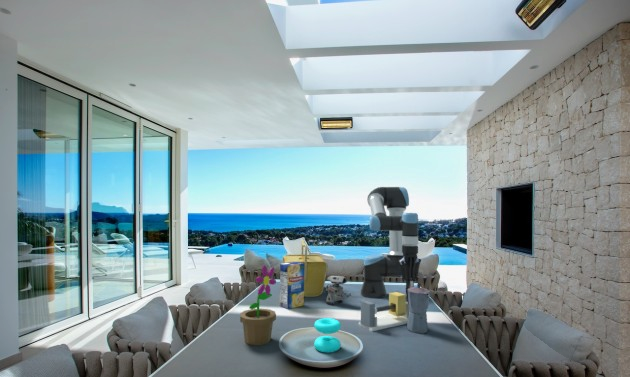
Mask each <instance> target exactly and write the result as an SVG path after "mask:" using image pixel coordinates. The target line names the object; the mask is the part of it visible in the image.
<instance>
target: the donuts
mask: <svg viewBox="0 0 630 377" xmlns="http://www.w3.org/2000/svg"><path fill="white" fill-rule="evenodd" d="M341 324H342V323H341V322H340V321H339V320H337V319H335V318H331V317H329V318H328V317H326V318H324V317H323V318H320V319H317V320H315V322H314V328H315V330H316V331H317V332H318V333H322V334H327V335H322V336H318V337H317V338H316V339H315V340H314V343H313V345H314V348H315V349H316V350H317V351H319V352H321V353H335V352H337V351H339V350H340V348H341V344H342V343H341V342H340V340H339V339H338V338H337V337H335V336H331V335H330V334H336V333H337V332H339V331H340V330H341V327H342V326H341Z"/></svg>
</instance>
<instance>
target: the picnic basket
mask: <svg viewBox="0 0 630 377" xmlns="http://www.w3.org/2000/svg"><path fill="white" fill-rule="evenodd" d="M300 246H301V247H300V248H301V249H300V250H301V254H284V255H283V257H282V259H281V261H282V264H283V263H291V262H300V263H304V298H306V297H307V298H308V297H310V298H311V297H313V298H314V297H319V296H321V295H322V294H323V292H324V289H325V283H326V279H327V274H328V268H329V267H328V266H329V265H328V263H327V262H326V260H324V258H323V256H322V255H320V254H316V253H315V254H314V253H313V254H308V245H307V244H306V242H305V241H304V239H302V240H301V245H300Z"/></svg>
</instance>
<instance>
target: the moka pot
mask: <svg viewBox="0 0 630 377" xmlns="http://www.w3.org/2000/svg"><path fill="white" fill-rule="evenodd" d="M421 285H422V284H421V283H417V284H416V286H417V287H416V286H414V287H413V286H410V285H409V284H408V286H407V287H406V286H405V295H406V302H408V305H409V307H410V311H409V318H408V323H407V324H406V325H407V326H406V328H407V330H408V331H410V332H411V333H416V334H425V333H427V332H428V331H429V325H428V315H427V311H428V309H429V303H430V296H431V290H429V289H428V288H425V287H421ZM408 288H409V289H408Z"/></svg>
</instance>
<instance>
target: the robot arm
mask: <svg viewBox="0 0 630 377" xmlns="http://www.w3.org/2000/svg"><path fill="white" fill-rule="evenodd" d="M367 204H368V206H369V208H370V212H371V216H369V229H370V230H371V231H377V232H378V231H381V232H383V231H385V232H386V231H389V252H388V253H387V254H386V257H385V256H384V255H383V254H370V255H367V256H365V257H364V259H363V282H362V286H361V288H360V295H361V296H362V297H367V298H370V299H371V298H374V299H377V298H385V297H387V289H386V285H385V283H384V282H385V280H384V278H398V279H401V278H402V280H404V281H405V288H406V287H407V286H408V284H409V285H410V286H413V287H415V282H416V280H417V279H418V276H419V271H420V264H421V262H422V259H421V258H419V257H418V254H419V246H418V245H419V214H418V212H405V211H406V210H407V207H409V205H410V197H409V193H408V190H407V188H406V187H403V186H402V187H401V186H380V187H379V186H378V187H376V188H374V189H373V190H371V191H370V192H369V193H368V195H367ZM385 207H386V209H385ZM386 210H387V211H388V213H389V215H387V212H386ZM408 289H409V288H408Z"/></svg>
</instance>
